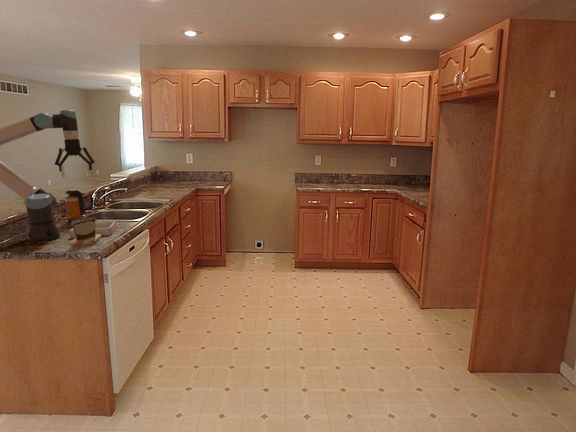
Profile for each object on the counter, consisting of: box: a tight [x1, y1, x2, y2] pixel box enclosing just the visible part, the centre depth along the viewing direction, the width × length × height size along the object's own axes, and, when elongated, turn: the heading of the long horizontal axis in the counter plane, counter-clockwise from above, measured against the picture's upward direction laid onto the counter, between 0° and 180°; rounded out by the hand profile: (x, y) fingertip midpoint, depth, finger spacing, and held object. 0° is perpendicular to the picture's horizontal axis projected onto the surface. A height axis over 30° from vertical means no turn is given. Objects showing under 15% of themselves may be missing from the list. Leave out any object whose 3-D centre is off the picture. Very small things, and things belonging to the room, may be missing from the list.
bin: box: [68, 221, 117, 239], centre depth 226 cm, size 21×17×4 cm
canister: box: [65, 189, 86, 223], centre depth 256 cm, size 9×11×20 cm
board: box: [69, 233, 103, 247], centre depth 210 cm, size 12×15×2 cm
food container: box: [70, 217, 97, 241], centre depth 208 cm, size 12×6×10 cm, turn 144°
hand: (76, 176), depth 229 cm, fingers open, 13 cm apart
